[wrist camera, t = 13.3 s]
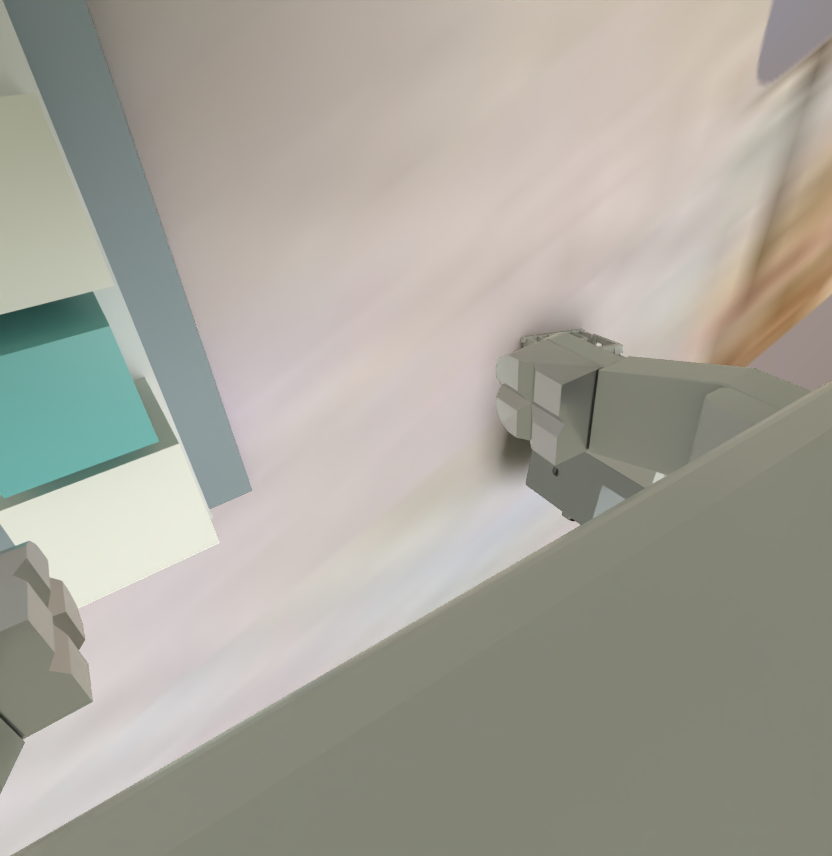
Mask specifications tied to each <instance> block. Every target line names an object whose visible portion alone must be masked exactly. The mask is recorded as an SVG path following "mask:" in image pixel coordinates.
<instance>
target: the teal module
mask: <svg viewBox="0 0 832 856" xmlns="http://www.w3.org/2000/svg"><path fill="white" fill-rule="evenodd" d="M157 442H159V440H158V437H157V435H156V433H155V430H154V428H153V426H152V423H151V421H150V419H149V416H148V414H147V412H146V409H145V407H144V405H143V402H142V400H141V398H140V395H139V393H138V391H137V388H136V386H135V384H134V381H133V379H132V377H131V374H130V372H129V370H128V367H127V365H126V363H125V360H124V358H123V356H122V353H121V351H120V349H119V346H118V344H117V342H116V339H115V337H114V335H113V332H112V330H111V328H110V326H109V323H108V321H107V319H106V317H105V315H104V313H103V311H102V309H101V307H100V305H99V303H98V301H97V299H96V296H95V294H94V292H93V291H92V292H88V293H84V294H80V295H76V296H72V297H68V298H64V299H60V300H56V301H52V302H48V303H44V304H41V305H37V306H33V307H29V308H25V309H21V310H17V311H13V312H9V313H5V314H1V315H0V494H1V496H2V497H3V499H4V498H7V497H10V496H13V495H15V494H18V493H21V492H23V491H26V490H29V489H32V488H34V487H37V486H40V485H42V484H45V483H48V482H51V481H53V480H56V479H59V478H62V477H64V476H67V475H70V474H72V473H75V472H78V471H81V470H83V469H86V468H89V467H91V466H94V465H97V464H100V463H102V462H105V461H108V460H110V459H113V458H116V457H119V456H121V455H124V454H127V453H129V452H132V451H135V450H138V449H140V448H143V447H146V446H148V445H151V444H154V443H157Z"/></svg>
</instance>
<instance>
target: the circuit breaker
mask: <svg viewBox="0 0 832 856" xmlns="http://www.w3.org/2000/svg"><path fill="white" fill-rule="evenodd" d="M562 332H568V333H570V334H572V335H574V336H576V337H578V338H580V339H583V340H585V341H587V342H589V343H591V344H593V345H596V344H597V342H598V343H601V344H602V346H600V348H602V349H604V350H606V351H608V352H611V353H613V354H615V355H617V356H619V357H621V358H623V359H624V358H626V357H624V356H621V355H620V353H623V345H622V344H619V343H617V342H614V341H612V340H609V339H607V338H604V337H601V336H599V335H596V334H590V333H587V332H585V330H583V329H577V330H570V331H562ZM556 333H558V332H555V333H547V334H540V335H532V336H525V337H521V340H520V342H522V343H523V347H522V348H524V347H527V346H529V345H532V344H534V343H536V342H539V341H540V340H542V339H544V338H547V337H549V336H551V335H554V334H556ZM588 451H589V450H587V451H585V452H583V453H581V454H579V455H577V456H575V457H572V458H570V459H568V460H566V461H564V462H562V463H560V464H558V465H556V466H555V465H553V464H552V463H550V462H549V461H548V460H546V459H545V458H543V457H542V456H541V455H539V454H538V453H537V452H535V451H534V450H532V455H531V460H530V464H529V469H528V474H527V479H526V485H527V486H528V487H530V488H531V489H532V490H534V491H535V492H537V493H538V494H539V495H541V496H542V497H543V498H545V499H546V500H547V501H549V502H550V503H552V504H553V505H554V506H556V507H557V508H558V509H560V510H561V511H563V512H562V515H563V516H564V517H565V518H567V519H569V520H571V521H576V522H578V523H579V524H580V525H582V524H584V523H586V522H587V521H589V520H591V519H593V518H594V517H596V516H598V515H599V514H601V513H603V512H605V511H606V510H608V509H610V508H612V507H613V506H615V505H617V504H619V503H620V502H622V501H624V500H625V499H627V498H629V497H631V496H632V495H634V494H636V493H638V492H639V491H641V490H643V489H644V488H646V487H648V486H650V485H651V484H653V483H655V482H657V481H658V480H660V479H662V478H663V477H665V476H667V475H665V474H661V473H658V472H655V471H651V470H648V469H644V468H641V467H638V466H634V465H631V464H627V463H624V462H621V461H617V460H614V459H610V458H607V457H604V456H600V455H597V454H593V453H590V452H588Z"/></svg>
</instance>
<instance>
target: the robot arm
mask: <svg viewBox="0 0 832 856" xmlns="http://www.w3.org/2000/svg"><path fill="white" fill-rule="evenodd" d="M496 378H497V379H498V380H499V381H500V382H501V383H502V386H501V388H500V390H499V392H498V394H497V396H496V406H497V413H498V416H499V418H500V421H501V423H502V425H503V426H504V427H505V428H506V430H507V431H508V432H509V433H511V434H512V435H513V436H515V437H516V438H520V439H525V440H530V444H531V449H532V450H534V451H535V452H537V453H538V454H539V455H541V456H542V457H543V458H545V459H546V460H548V461H549V462H550V463H552V464H553V465H555V466H556V465H558V464H560V463H562V462H564V461H566V460H568V459H570V458H572V457H575V456H577V455H579V454H581V453H583V452H585V451H587V450H589V451H588V452H590V453H593V454H597V455H600V456H604V457H607V458H610V459H614V460H617V461H621V462H624V463H627V464H631V465H634V466H638V467H641V468H644V469H648V470H651V471H655V472H658V473H661V474H665V475H667V476H665V477H663V478H662V479H660V480H658V481H657V482H655V483H653V484H651V485H650V486H648V487H646V488H644V489H643V490H641V491H639V492H638V493H636V494H634V495H632V496H631V497H629V498H627V499H625V500H624V501H622V502H620V503H619V504H617V505H615V506H613V507H612V508H610V509H608V510H606V511H605V512H603V513H601V514H599V515H598V516H596V517H594V518H593V519H591V520H589V521H587V522H586V523H584V524H582V525H580V526H579V527H577V528H575V529H574V530H572V531H570V532H568V533H567V534H565V535H563V536H561V537H560V538H558V539H556V540H554V541H553V542H551V543H549V544H548V545H546V546H544V547H542V548H541V549H539V550H537V551H535V552H534V553H532V554H530V555H529V556H527V557H525V558H523V559H522V560H520V561H518V562H516V563H515V564H513V565H511V566H510V567H508V568H506V569H504V570H503V571H501V572H499V573H497V574H496V575H494V576H492V577H491V578H489V579H487V580H485V581H484V582H482V583H480V584H479V585H477V586H475V587H473V588H472V589H470V590H468V591H466V592H465V593H463V594H461V595H460V596H458V597H456V598H454V599H453V600H451V601H449V602H447V603H446V604H444V605H442V606H441V607H439V608H437V609H435V610H434V611H432V612H430V613H428V614H427V615H425V616H423V617H422V618H420V619H418V620H416V621H415V622H413V623H411V624H409V625H408V626H406V627H404V628H403V629H401V630H399V631H397V632H396V633H394V634H392V635H390V636H389V637H387V638H385V639H384V640H382V641H380V642H378V643H377V644H375V645H373V646H372V647H370V648H368V649H366V650H365V651H363V652H361V653H359V654H358V655H356V656H354V657H353V658H351V659H349V660H347V661H346V662H344V663H342V664H340V665H339V666H337V667H335V668H334V669H332V670H330V671H328V672H327V673H325V674H323V675H321V676H320V677H318V678H316V679H315V680H313V681H311V682H309V683H308V684H306V685H304V686H302V687H301V688H299V689H297V690H296V691H294V692H292V693H290V694H289V695H287V696H285V697H283V698H282V699H280V700H278V701H277V702H275V703H273V704H271V705H270V706H268V707H266V708H264V709H263V710H261V711H259V712H258V713H256V714H254V715H252V716H251V717H249V718H247V719H245V720H244V721H242V722H240V723H239V724H237V725H235V726H233V727H232V728H230V729H228V730H226V731H225V732H223V733H221V734H220V735H218V736H216V737H214V738H213V739H211V740H209V741H208V742H206V743H204V744H202V745H201V746H199V747H197V748H195V749H194V750H192V751H190V752H189V753H187V754H185V755H183V756H182V757H180V758H178V759H176V760H175V761H173V762H171V763H170V764H168V765H166V766H164V767H163V768H161V769H159V770H157V771H156V772H154V773H152V774H151V775H149V776H147V777H145V778H144V779H142V780H140V781H138V782H137V783H135V784H133V785H132V786H130V787H128V788H126V789H125V790H123V791H121V792H119V793H118V794H116V795H114V796H113V797H111V798H109V799H107V800H106V801H104V802H102V803H100V804H99V805H97V806H95V807H94V808H92V809H90V810H88V811H87V812H85V813H83V814H81V815H80V816H78V817H76V818H75V819H73V820H71V821H69V822H68V823H66V824H64V825H62V826H61V827H59V828H57V829H56V830H54V831H52V832H50V833H49V834H47V835H45V836H44V837H42V838H40V839H38V840H37V841H35V842H33V843H31V844H30V845H28V846H26V847H25V848H23V849H21V850H19V851H18V852H16V853H14V854H12V855H11V856H832V380H831V381H829V382H827V383H826V384H824V385H822V386H821V387H819V388H817V389H815V390H814V391H810V390H808V389H805V388H803V387H800V386H798V385H795V384H793V383H790V382H788V381H785V380H783V379H780V378H778V377H775V376H773V375H770V374H768V373H766V372H763V371H761V370H758V369H756V368H746V367H736V366H725V365H715V364H704V363H694V362H683V361H673V360H663V359H652V358H642V357H631V356H629V357H627V358H624V359H623V358H621V357H619V356H617V355H615V354H613V353H611V352H608V351H606V350H604V349H602V348H600V347H598V346H596V345H593V344H591V343H589V342H587V341H585V340H583V339H580V338H578V337H576V336H574V335H572V334H570V333H568V332H558V333H556V334H554V335H551V336H549V337H547V338H544V339H542V340H540V341H539V342H536V343H534V344H532V345H529V346H527V347H524V348H522V349H519V350H517V351H514V352H512V353H510V354H507V355H505V356H502V357H500V358H499V361H498V363H497V366H496ZM84 641H85V635H84V629H83V623H82V620H81V617H80V614H79V611H78V608H77V605H76V603H75V601H74V599H73V597H72V596H71V594H70V592H69V590H68V589H67V587H66V586H65V584H64V583H63V581H61V580H57V579H54V578H50V577H49V566H48V559H47V558H46V557H45V555H44V554H43V553H42V551H41V550H40V549H39V547H38V546H37V545H36V544H35V543H33V542H31V541H27V542H24V543H22V544H19V545H16V546H13V547H11V548H8V549H5V550H3V551H0V793H1V791H2V789H3V787H4V785H5V783H6V781H7V779H8V777H9V775H10V772H11V770H12V768H13V766H14V764H15V762H16V760H17V758H18V756H19V754H20V752H21V749H22V747H23V745H24V743H25V742H24V741H23V739H25V738H26V737H28V736H30V735H32V734H34V733H36V732H37V731H39V730H41V729H43V728H45V727H47V726H49V725H50V724H52V723H54V722H56V721H58V720H60V719H62V718H63V717H65V716H67V715H69V714H71V713H73V712H75V711H76V710H78V709H80V708H82V707H84V706H86V705H88V704H89V703H91V702H93V699H92V691H91V682H90V674H89V666H88V663H87V661H86V660H85V658H84V657H83V656H82V654H81V653H80V651H79V649H80V647H81V646H82V644H83V642H84Z"/></svg>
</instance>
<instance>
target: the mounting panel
mask: <svg viewBox="0 0 832 856" xmlns="http://www.w3.org/2000/svg"><path fill="white" fill-rule="evenodd" d="M92 291H93V292H94V294H95V296H96V299H97V301H98V303H99V305H100V307H101V309H102V311H103V313H104V315H105V317H106V319H107V321H108V323H109V326H110V328H111V330H112V332H113V335H114V337H115V339H116V342H117V344H118V346H119V349H120V351H121V353H122V356H123V358H124V360H125V363H126V365H127V367H128V370H129V372H130V374H131V377H132V379H133V381H134V384H135V386H136V388H137V391H138V393H139V395H140V398H141V400H142V402H143V405H144V407H145V409H146V412H147V414H148V416H149V419H150V421H151V423H152V426H153V428H154V430H155V433H156V435H157V437H158V440H159V442H157V443H154V444H151V445H148V446H146V447H143V448H140V449H138V450H135V451H132V452H129V453H127V454H124V455H121V456H119V457H116V458H113V459H110V460H108V461H105V462H102V463H100V464H97V465H94V466H91V467H89V468H86V469H83V470H81V471H78V472H75V473H72V474H70V475H67V476H64V477H62V478H59V479H56V480H53V481H51V482H48V483H45V484H42V485H40V486H37V487H34V488H32V489H29V490H26V491H23V492H21V493H18V494H15V495H13V496H10V497H7V498H4V499H3V497H2V496H1V494H0V551H3V550H5V549H8V548H11V547H13V546H16V545H19V544H22V543H24V542H27V541H31V542H33V543H35V544H36V545H37V546H38V547H39V549H40V550H41V551H42V553H43V554H44V555H45V557H46V558H47V559H48V566H49V577H50V578H54V579H57V580H61V581H63V583H64V584H65V586H66V587H67V589H68V590H69V592H70V594H71V596H72V597H73V599H74V601H75V603H76V605H77V608H81V607H83V606H85V605H87V604H89V603H91V602H94V601H96V600H98V599H100V598H102V597H104V596H107V595H109V594H111V593H113V592H115V591H117V590H119V589H122V588H124V587H126V586H128V585H130V584H132V583H135V582H137V581H139V580H141V579H143V578H145V577H148V576H150V575H152V574H154V573H156V572H158V571H160V570H163V569H165V568H167V567H169V566H171V565H173V564H176V563H178V562H180V561H182V560H184V559H186V558H189V557H191V556H193V555H195V554H197V553H199V552H201V551H204V550H206V549H208V548H210V547H212V546H214V545H217V544H219V543H220V542H219V539H218V537H217V534H216V532H215V530H214V527H213V525H212V522H211V520H210V519H211V518H213V517H212V515H211V512H210V510H209V509H211V508H214V507H216V506H218V505H220V504H223V503H225V502H227V501H230V500H232V499H234V498H237V497H239V496H241V495H243V494H246V493H248V492H250V491H252V488H251V486H250V483H249V480H248V477H247V474H246V471H245V468H244V465H243V462H242V459H241V456H240V453H239V450H238V447H237V444H236V441H235V439H234V436H233V433H232V430H231V427H230V424H229V421H228V418H227V415H226V412H225V409H224V406H223V403H222V400H221V397H220V394H219V391H218V389H217V386H216V383H215V380H214V377H213V374H212V371H211V368H210V365H209V362H208V359H207V356H206V353H205V350H204V347H203V344H202V342H201V339H200V336H199V333H198V330H197V327H196V324H195V321H194V318H193V315H192V312H191V309H190V306H189V303H188V300H187V297H186V294H185V292H184V289H183V286H182V283H181V280H180V277H179V274H178V271H177V268H176V265H175V262H174V259H173V256H172V253H171V250H170V247H169V245H168V242H167V239H166V236H165V233H164V230H163V227H162V224H161V221H160V218H159V215H158V212H157V209H156V206H155V203H154V200H153V197H152V195H151V192H150V189H149V186H148V183H147V180H146V177H145V174H144V171H143V168H142V165H141V162H140V159H139V156H138V153H137V150H136V147H135V145H134V142H133V139H132V136H131V133H130V130H129V127H128V124H127V121H126V118H125V115H124V112H123V109H122V106H121V103H120V100H119V98H118V95H117V92H116V89H115V86H114V83H113V80H112V77H111V74H110V71H109V68H108V65H107V62H106V59H105V56H104V53H103V50H102V48H101V45H100V42H99V39H98V36H97V33H96V30H95V27H94V24H93V21H92V18H91V15H90V12H89V9H88V6H87V3H86V1H85V0H0V315H1V314H5V313H9V312H13V311H17V310H21V309H25V308H29V307H33V306H37V305H41V304H44V303H48V302H52V301H56V300H60V299H64V298H68V297H72V296H76V295H80V294H84V293H88V292H92Z"/></svg>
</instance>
